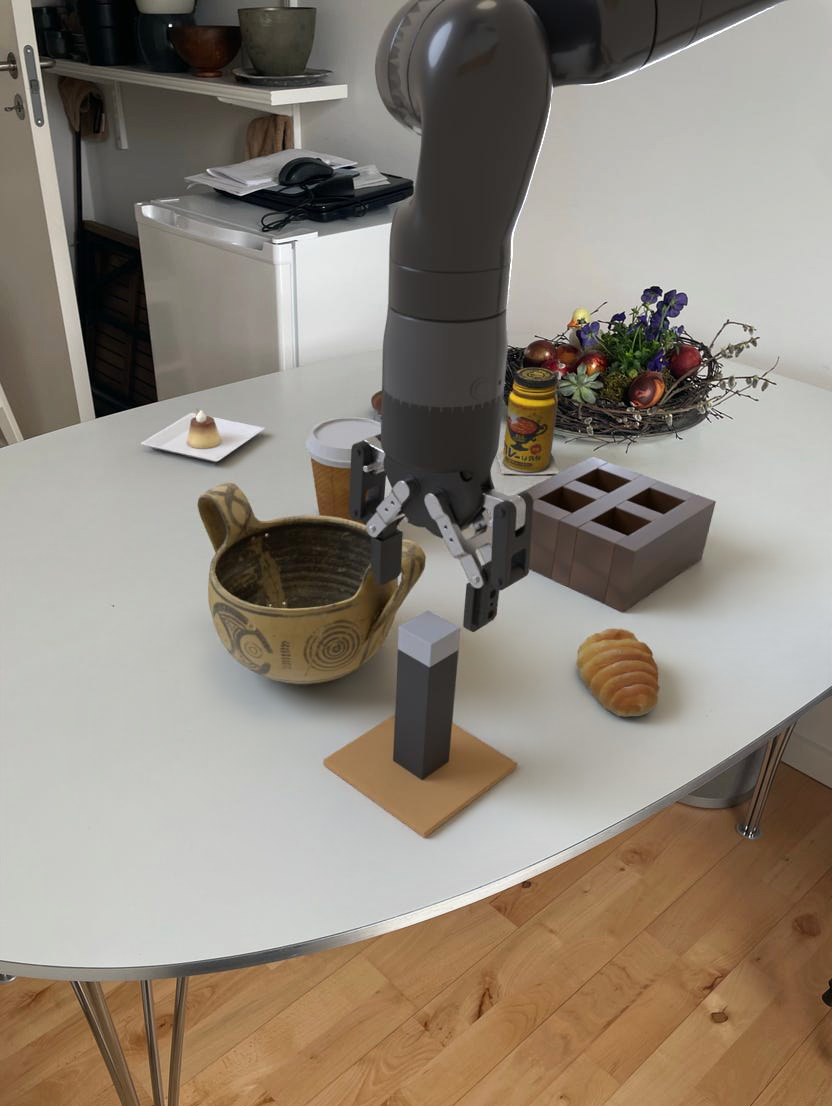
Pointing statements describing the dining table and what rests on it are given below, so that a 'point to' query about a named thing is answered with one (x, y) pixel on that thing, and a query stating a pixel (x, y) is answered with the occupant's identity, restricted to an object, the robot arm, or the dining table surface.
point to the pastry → (619, 672)
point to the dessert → (202, 437)
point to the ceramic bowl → (298, 590)
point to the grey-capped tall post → (425, 693)
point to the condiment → (530, 424)
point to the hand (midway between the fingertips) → (430, 601)
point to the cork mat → (407, 794)
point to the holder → (615, 531)
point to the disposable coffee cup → (336, 460)
